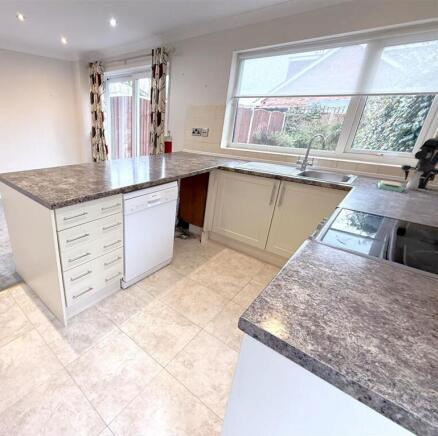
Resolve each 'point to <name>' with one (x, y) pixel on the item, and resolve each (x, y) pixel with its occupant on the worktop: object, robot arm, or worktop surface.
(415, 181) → the salt shaker
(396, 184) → the scale platform
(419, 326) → the worktop surface
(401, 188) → the scale
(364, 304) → the worktop surface
